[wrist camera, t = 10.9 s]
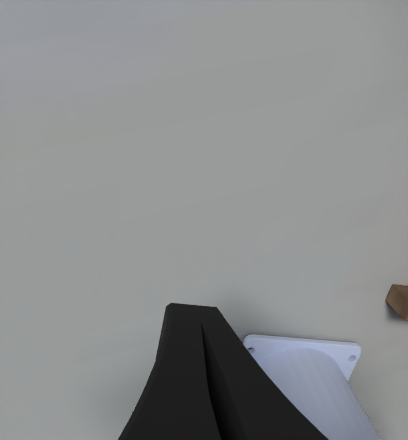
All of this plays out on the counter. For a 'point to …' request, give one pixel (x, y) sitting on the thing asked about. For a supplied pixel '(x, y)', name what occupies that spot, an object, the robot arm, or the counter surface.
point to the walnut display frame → (399, 300)
